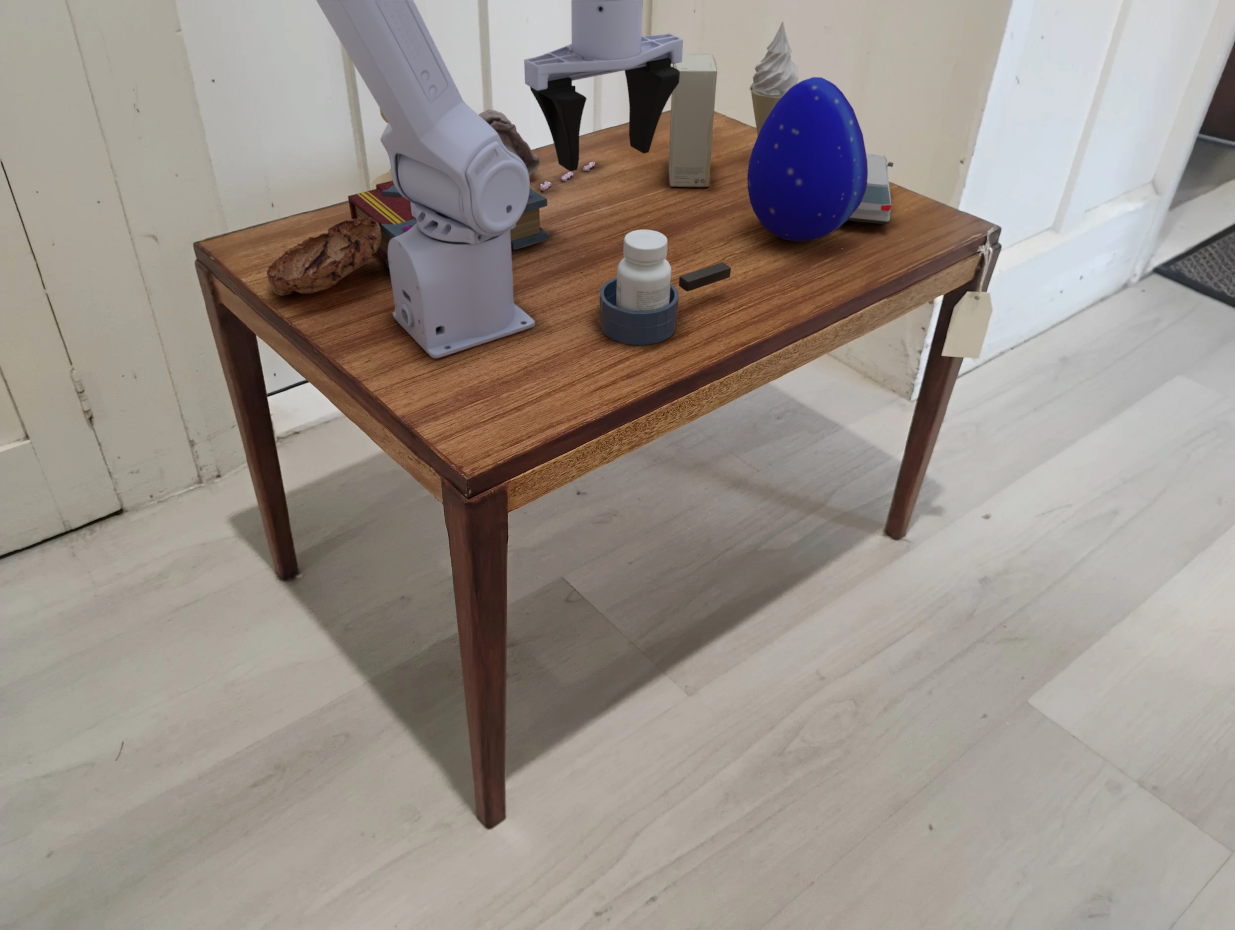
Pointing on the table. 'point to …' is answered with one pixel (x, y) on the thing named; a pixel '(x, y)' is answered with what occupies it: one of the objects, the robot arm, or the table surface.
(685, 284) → the dark grey rectangular bar
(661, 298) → the pill bottle
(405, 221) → the decorative book
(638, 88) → the robot arm
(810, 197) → the ornament
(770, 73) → the ice cream cone
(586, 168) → the pink molecule models
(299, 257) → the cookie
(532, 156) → the dental mold
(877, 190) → the toy car
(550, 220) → the table surface
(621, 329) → the dark grey open cylinder
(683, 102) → the cosmetic box
